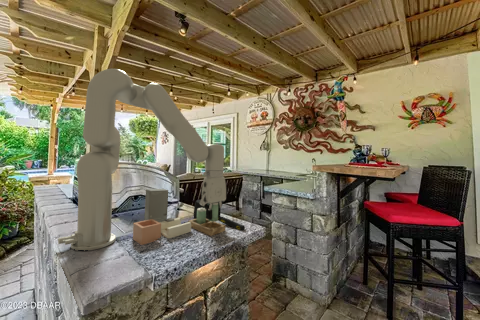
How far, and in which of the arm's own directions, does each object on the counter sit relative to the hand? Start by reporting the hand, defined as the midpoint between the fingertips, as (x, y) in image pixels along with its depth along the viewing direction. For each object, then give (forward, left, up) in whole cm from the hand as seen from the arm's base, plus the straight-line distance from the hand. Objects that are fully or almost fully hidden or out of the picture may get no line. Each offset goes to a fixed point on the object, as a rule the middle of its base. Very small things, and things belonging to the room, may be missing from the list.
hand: (213, 217), depth 84 cm
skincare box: (-12, +24, -6) cm, 28 cm away
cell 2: (0, 0, -1) cm, 1 cm away
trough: (0, +4, -6) cm, 7 cm away
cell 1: (0, +7, -5) cm, 9 cm away
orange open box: (-22, +11, -6) cm, 26 cm away
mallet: (+8, +6, -7) cm, 12 cm away
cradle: (-12, +9, -6) cm, 17 cm away
